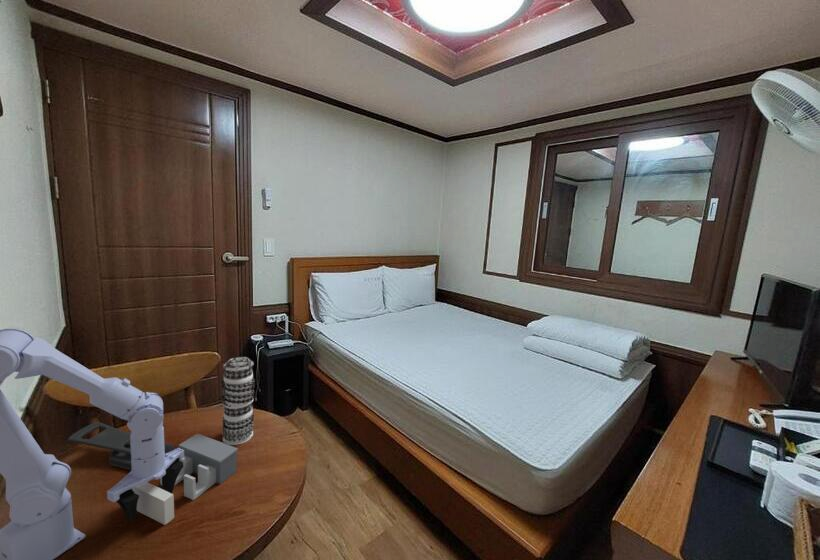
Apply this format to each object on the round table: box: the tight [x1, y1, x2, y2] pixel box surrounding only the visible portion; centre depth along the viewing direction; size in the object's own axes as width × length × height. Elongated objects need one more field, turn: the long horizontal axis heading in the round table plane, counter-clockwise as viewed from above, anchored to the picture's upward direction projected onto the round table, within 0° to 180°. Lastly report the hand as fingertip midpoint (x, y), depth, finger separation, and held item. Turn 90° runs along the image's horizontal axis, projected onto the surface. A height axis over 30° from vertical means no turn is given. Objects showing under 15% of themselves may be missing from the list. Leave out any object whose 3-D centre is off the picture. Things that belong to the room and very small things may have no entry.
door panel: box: [132, 481, 175, 526], centre depth 73 cm, size 12×2×6 cm, turn 71°
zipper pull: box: [67, 421, 176, 471], centre depth 89 cm, size 9×7×25 cm
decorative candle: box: [220, 356, 256, 446], centre depth 99 cm, size 9×9×25 cm
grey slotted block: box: [159, 433, 239, 501], centre depth 84 cm, size 11×14×7 cm
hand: (150, 505), depth 74 cm, fingers open, 7 cm apart
